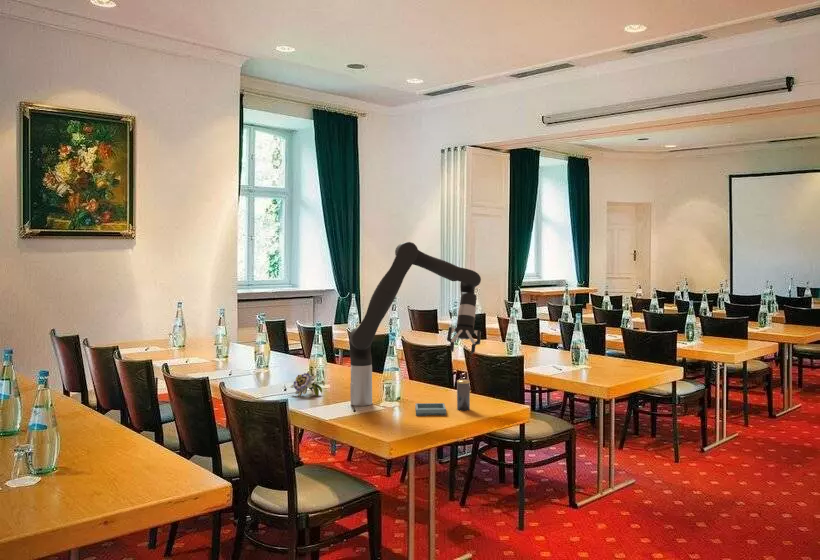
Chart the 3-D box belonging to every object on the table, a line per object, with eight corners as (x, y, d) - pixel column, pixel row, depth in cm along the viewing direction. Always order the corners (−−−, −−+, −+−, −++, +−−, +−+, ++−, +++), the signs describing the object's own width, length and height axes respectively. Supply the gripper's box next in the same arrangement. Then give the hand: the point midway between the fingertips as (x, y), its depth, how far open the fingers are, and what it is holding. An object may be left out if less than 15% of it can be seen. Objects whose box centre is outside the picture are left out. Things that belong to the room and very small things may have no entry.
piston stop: (457, 410, 298) (457, 381, 298) (456, 408, 304) (456, 379, 303) (470, 410, 298) (470, 381, 298) (469, 408, 304) (468, 379, 303)
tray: (416, 415, 290) (416, 409, 290) (415, 409, 302) (415, 403, 302) (446, 415, 290) (446, 409, 290) (444, 409, 302) (444, 403, 302)
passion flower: (300, 409, 332) (283, 385, 333) (315, 399, 342) (299, 376, 344) (316, 396, 325) (299, 372, 327) (332, 387, 336) (315, 363, 337)
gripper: (449, 312, 313) (444, 348, 309) (482, 315, 310) (477, 352, 306) (451, 317, 320) (446, 352, 316) (483, 320, 317) (479, 356, 313)
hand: (462, 352), depth 311 cm, fingers open, 8 cm apart
